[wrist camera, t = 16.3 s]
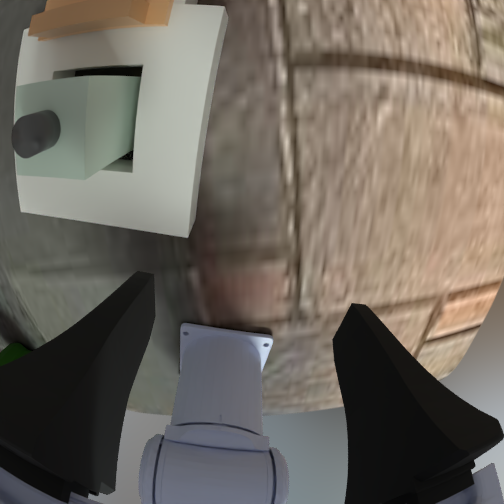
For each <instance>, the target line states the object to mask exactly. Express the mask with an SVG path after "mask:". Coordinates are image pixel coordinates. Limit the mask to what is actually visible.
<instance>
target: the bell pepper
mask: <svg viewBox="0 0 504 504" xmlns="http://www.w3.org/2000/svg"><path fill="white" fill-rule="evenodd" d="M30 352H32V351H30V350H27V349H26V348H25V347H24V346H23V345H21V344H20V343H12V344H10V345H8V346H7V347H6V348H5V349H3V350H2V351H1V352H0V366H2V365H5V364H7V363H9V362H11V361H14V360H16V359H18V358H20V357H22V356H24V355H26V354H28V353H30Z"/></svg>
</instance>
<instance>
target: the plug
mask: <svg viewBox="0 0 504 504" xmlns="http://www.w3.org/2000/svg"><path fill="white" fill-rule="evenodd" d="M140 83H141V77H135V76H80V77H70V78H62V79H54V80H48V81H41V82H36V83H30V84H25V85H20V86H16V100H15V125H14V127H13V130H12V144H13V148H14V150H15V152H16V167H17V175H22V176H39V177H53V178H66V179H78V180H86V179H88V178H89V177H90V176H92V175H93V174H95V173H96V172H98V171H100V170H101V169H103V168H104V167H106V166H107V165H109V164H110V163H112V162H114V161H115V160H117V159H119V158H120V157H122V156H123V155H125V154H127V153H129V152H130V151H132V150H134V138H135V126H136V116H137V107H138V98H139V91H140Z"/></svg>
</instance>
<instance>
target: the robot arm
mask: <svg viewBox="0 0 504 504" xmlns="http://www.w3.org/2000/svg"><path fill="white" fill-rule="evenodd" d="M154 320H155V295H154V274H151V273H145V272H140V271H137V272H136V273H135V274H133V275H132V276H131V277H130V278H129V279H128V280H127V281H126V282H124V283H123V284H122V285H121V286H120V287H119V288H118V289H117V290H116V291H114V292H113V293H112V294H111V295H110V296H109V297H108V298H106V299H105V300H104V301H103V302H102V303H101V304H99V305H98V306H97V307H96V308H95V309H94V310H92V311H91V312H90V313H88V314H87V315H86V316H85V317H83V318H82V319H81V320H80V321H78V322H77V323H76V324H74V325H73V326H72V327H70V328H69V329H68V330H66V331H65V332H63V333H62V334H60V335H59V336H57V337H56V338H54V339H53V340H51V341H49V342H48V343H46V344H44V345H42V346H41V347H39V348H37V349H35V350H34V351H32V352H30V353H28V354H26V355H24V356H22V357H20V358H18V359H16V360H14V361H11V362H9V363H7V364H5V365H2V366H0V504H102V503H99V502H96V501H93V500H91V499H88V495H89V493H90V494H92V495H95V496H98V495H99V492H100V493H103V494H106V495H108V494H110V493H112V492H114V491H115V484H116V471H117V460H118V452H119V445H120V444H119V443H120V438H121V432H122V426H123V421H124V416H125V411H126V406H127V402H128V398H129V394H130V391H131V388H132V385H133V382H134V380H135V377H136V374H137V371H138V369H139V366H140V363H141V361H142V358H143V355H144V353H145V350H146V347H147V345H148V342H149V339H150V335H151V331H152V328H153V324H154ZM332 340H333V353H334V362H335V367H336V372H337V376H338V381H339V385H340V390H341V394H342V399H343V404H344V407H345V414H346V420H347V432H348V479H347V489H346V497H345V504H504V500H503V496H502V492H501V487H500V483H499V479H498V476H497V472H496V469H495V465H494V463H491V464H489V465H488V466H486V467H484V468H483V469H481V470H479V471H477V472H475V473H474V474H472V472H471V469H473V468H474V467H475V462H474V460H475V459H476V458H478V457H479V456H481V455H482V454H484V453H485V452H487V451H488V450H490V449H491V448H493V447H494V446H495V445H496V444H498V443H499V442H500V441H501V440H503V438H504V434H503V431H502V428H501V426H500V423H499V421H498V420H497V419H495V418H494V417H492V416H490V415H488V414H486V413H484V412H482V411H480V410H478V409H477V408H475V407H473V406H472V405H470V404H469V403H467V402H465V401H464V400H462V399H461V398H459V397H458V396H457V395H455V394H454V393H453V392H451V391H450V390H449V389H448V388H446V387H445V386H444V385H443V384H441V383H440V382H439V381H438V380H437V379H436V378H435V377H433V376H432V375H431V374H430V373H429V372H428V371H427V370H426V369H425V368H424V367H423V366H422V365H421V364H420V363H419V362H418V361H417V360H416V359H415V358H414V357H413V356H412V355H411V354H410V353H409V352H408V351H407V350H406V349H405V347H404V346H403V345H402V344H401V343H400V342H399V341H398V340H397V339H396V337H395V336H394V335H393V334H392V333H391V332H390V331H389V329H388V328H387V327H386V326H385V325H384V324H383V323H382V321H381V320H380V319H379V318H378V317H377V316H376V315H375V314H374V313H373V312H372V310H371V309H370V308H369V307H368V306H366V305H364V304H355V303H352V304H351V306H350V308H349V310H348V312H347V313H346V315H345V317H344V319H343V321H342V323H341V325H340V327H339V329H338V330H337V332H336V334H335V336H334V338H333V339H332ZM265 343H267V344H265ZM272 344H273V336H271V335H267V334H258V333H250V332H243V331H235V330H228V329H221V328H215V327H208V326H202V325H196V324H190V323H183V324H182V325H181V328H180V377H179V382H178V387H177V392H176V397H175V403H174V408H173V414H172V420H171V425H166V430H165V435H160V434H156V435H155V436H154V437H153V438H151V439H149V440H148V442H147V443H146V446H145V448H144V451H143V455H142V459H141V464H140V471H139V495H140V498H141V504H286V503H287V498H288V492H289V473H288V467H287V463H286V460H285V458H284V457H283V455H282V454H281V453H280V452H279V450H278V449H277V448H273V447H272V448H271V447H269V437H268V436H263V422H262V373H261V372H262V370H263V367H264V365H265V362H266V359H267V357H268V354H269V352H270V349H271V346H272Z"/></svg>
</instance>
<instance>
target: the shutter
mask: <svg viewBox="0 0 504 504" xmlns="http://www.w3.org/2000/svg"><path fill="white" fill-rule="evenodd" d="M173 2H174V0H47V3H46V7H45V11H44V12H42V13H39V14H36V15H33V16H32V19H31V23H30V27H29V32H28V36H32V37H38V41H47V40H52V39H56V38H60V37H65V36H70V35H75V34H81V33H87V32H94V31H101V30H109V29H119V28H132V27H155V26H168V22H169V18H170V14H171V10H172V6H173Z"/></svg>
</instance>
